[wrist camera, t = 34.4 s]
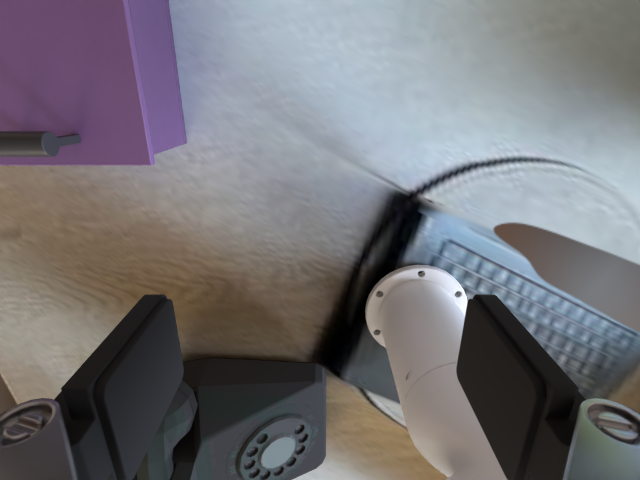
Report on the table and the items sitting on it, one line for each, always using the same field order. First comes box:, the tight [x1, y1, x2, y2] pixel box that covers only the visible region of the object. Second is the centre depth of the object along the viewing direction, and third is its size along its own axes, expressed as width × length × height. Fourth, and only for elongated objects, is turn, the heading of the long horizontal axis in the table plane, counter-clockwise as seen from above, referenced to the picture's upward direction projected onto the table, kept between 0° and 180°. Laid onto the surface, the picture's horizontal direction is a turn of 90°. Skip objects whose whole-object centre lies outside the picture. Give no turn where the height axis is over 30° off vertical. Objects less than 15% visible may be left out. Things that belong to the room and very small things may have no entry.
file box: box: [128, 0, 187, 154], centre depth 32 cm, size 18×16×8 cm
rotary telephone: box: [132, 358, 326, 480], centre depth 47 cm, size 33×22×15 cm, turn 0°
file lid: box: [0, 0, 155, 165], centre depth 25 cm, size 19×16×5 cm
